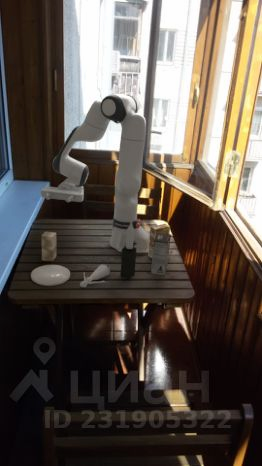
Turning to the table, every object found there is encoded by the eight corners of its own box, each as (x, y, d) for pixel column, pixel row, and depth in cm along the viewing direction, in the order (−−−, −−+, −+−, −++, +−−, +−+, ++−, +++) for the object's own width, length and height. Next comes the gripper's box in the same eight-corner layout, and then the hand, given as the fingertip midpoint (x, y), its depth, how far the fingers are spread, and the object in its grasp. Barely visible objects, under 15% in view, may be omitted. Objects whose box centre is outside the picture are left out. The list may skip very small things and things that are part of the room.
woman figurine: (119, 267, 165) (92, 286, 151) (118, 275, 167) (92, 295, 153) (97, 258, 170) (69, 276, 157) (97, 267, 172) (70, 285, 159)
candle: (129, 279, 164) (133, 224, 154) (119, 276, 166) (122, 221, 156) (135, 274, 168) (139, 221, 158) (125, 271, 170) (128, 218, 160)
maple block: (56, 256, 179) (56, 232, 174) (52, 261, 174) (52, 237, 169) (45, 255, 179) (45, 231, 174) (42, 260, 175) (41, 235, 170)
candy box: (152, 259, 183) (155, 229, 177) (147, 255, 186) (150, 226, 180) (167, 255, 188) (170, 226, 182) (161, 252, 191) (165, 223, 185)
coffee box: (153, 264, 178) (156, 232, 172) (167, 266, 177) (171, 234, 171) (150, 273, 170) (153, 240, 164) (165, 275, 169) (168, 242, 163)
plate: (74, 269, 169) (74, 267, 168) (63, 288, 154) (63, 286, 154) (39, 264, 170) (39, 262, 170) (24, 282, 156) (24, 280, 155)
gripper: (46, 182, 191) (35, 189, 178) (86, 187, 188) (78, 195, 176) (46, 194, 193) (35, 202, 180) (86, 199, 191) (78, 208, 178)
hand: (57, 199), depth 178 cm, fingers open, 8 cm apart
